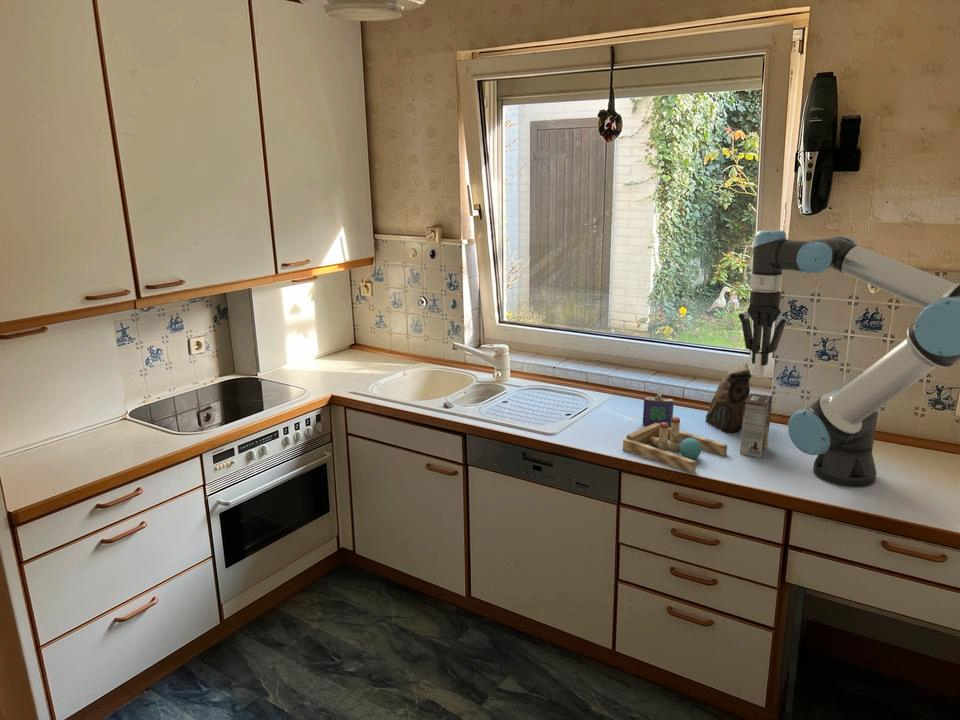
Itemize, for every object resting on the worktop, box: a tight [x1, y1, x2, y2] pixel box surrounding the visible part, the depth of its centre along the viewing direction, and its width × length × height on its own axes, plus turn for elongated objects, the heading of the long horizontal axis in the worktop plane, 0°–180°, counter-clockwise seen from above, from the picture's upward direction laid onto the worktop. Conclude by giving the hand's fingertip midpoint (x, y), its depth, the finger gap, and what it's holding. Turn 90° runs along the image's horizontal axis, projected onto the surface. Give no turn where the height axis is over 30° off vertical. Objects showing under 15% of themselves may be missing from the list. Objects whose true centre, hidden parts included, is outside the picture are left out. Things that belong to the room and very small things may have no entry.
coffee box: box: [739, 392, 773, 458], centre depth 211 cm, size 9×6×16 cm
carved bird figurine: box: [704, 362, 752, 435], centre depth 228 cm, size 13×13×20 cm
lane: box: [622, 423, 728, 474], centre depth 212 cm, size 23×18×4 cm
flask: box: [642, 393, 675, 428], centre depth 232 cm, size 9×3×11 cm, turn 78°
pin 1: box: [657, 422, 669, 451], centre depth 211 cm, size 2×2×9 cm
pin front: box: [649, 436, 681, 452], centre depth 215 cm, size 2×2×9 cm
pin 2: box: [669, 416, 681, 444], centre depth 215 cm, size 2×2×9 cm
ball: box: [679, 438, 703, 460], centre depth 207 cm, size 6×6×6 cm
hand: (758, 376), depth 198 cm, fingers closed
